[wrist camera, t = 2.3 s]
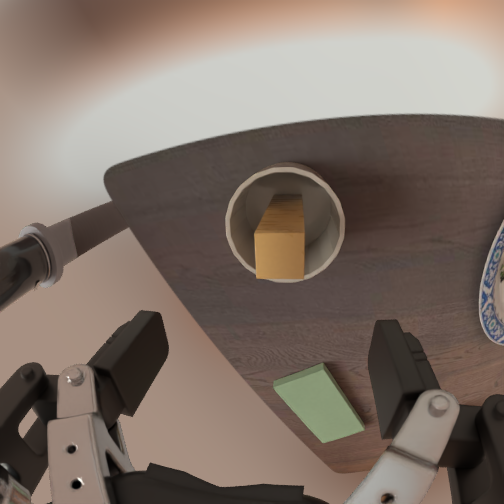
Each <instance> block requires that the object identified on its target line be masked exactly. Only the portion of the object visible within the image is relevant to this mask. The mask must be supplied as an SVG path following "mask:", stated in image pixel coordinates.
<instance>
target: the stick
mask: <svg viewBox="0 0 504 504" xmlns="http://www.w3.org/2000/svg"><path fill="white" fill-rule="evenodd" d="M254 238H255V258H256V278H257V279H304V268H305V227H304V213H303V200H302V194H288V195H273V197H272V199H271V201H270V203H269V205H268V207H267V209H266V211H265V213H264V215H263V217H262V219H261V221H260V223H259V225H258V227H257V229H256V231H255V233H254Z"/></svg>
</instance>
